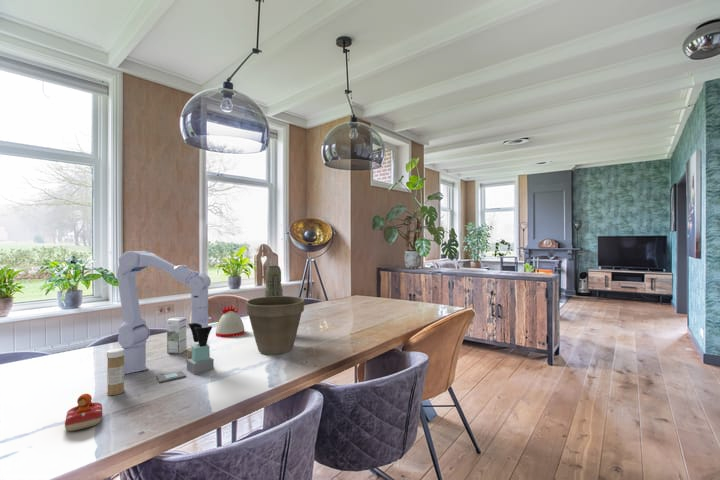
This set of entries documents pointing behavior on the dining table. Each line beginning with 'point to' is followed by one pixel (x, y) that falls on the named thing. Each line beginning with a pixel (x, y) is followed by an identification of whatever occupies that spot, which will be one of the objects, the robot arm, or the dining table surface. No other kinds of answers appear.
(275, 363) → the dining table surface
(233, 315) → the white domed piece
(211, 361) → the grey block
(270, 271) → the green cactus
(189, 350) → the walnut block
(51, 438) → the dining table surface
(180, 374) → the card
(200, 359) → the teal block
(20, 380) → the dining table surface
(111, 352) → the sprinkles bottle
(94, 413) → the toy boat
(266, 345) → the plant pot
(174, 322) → the syrup box
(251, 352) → the dining table surface
